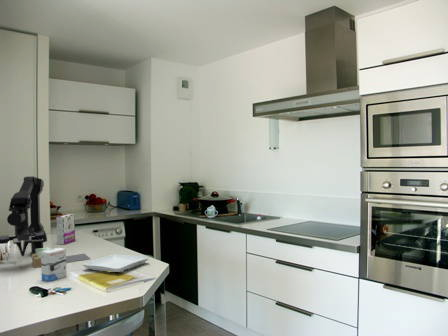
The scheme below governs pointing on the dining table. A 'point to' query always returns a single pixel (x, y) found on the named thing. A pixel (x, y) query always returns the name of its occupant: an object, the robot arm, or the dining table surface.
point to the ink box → (53, 264)
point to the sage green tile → (38, 251)
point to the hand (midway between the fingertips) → (22, 255)
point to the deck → (36, 261)
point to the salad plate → (115, 263)
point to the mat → (76, 258)
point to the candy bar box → (65, 229)
